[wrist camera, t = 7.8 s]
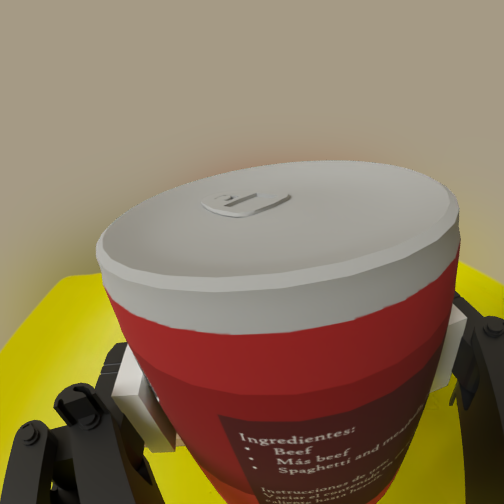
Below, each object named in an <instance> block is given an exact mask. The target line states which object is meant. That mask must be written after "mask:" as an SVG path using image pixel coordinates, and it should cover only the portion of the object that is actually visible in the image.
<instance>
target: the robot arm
mask: <svg viewBox="0 0 504 504" xmlns="http://www.w3.org/2000/svg"><path fill="white" fill-rule="evenodd" d="M452 373H453V374H454V376H455V377H456V378H457V383H456V386H455V388H454V391H453V393H452V396H451V398H450V403H449V406H452V405H453V403H454V400H455V398H456V399H457V405H458V412H459V419H460V427H461V435H462V445H463V456H464V470H465V496H466V504H504V320H503V319H501V318H498V317H495V316H486V317H483V316H482V315H481V314H480V313H479V312H478V311H477V310H476V309H475V308H473V307H472V306H471V305H470V304H469V303H468V302H467V301H466V300H465V299H464V298H463V297H460V295H459V294H458V293H457V292H456V291H455V294H454V299H453V305H452V310H451V315H450V319H449V324H448V328H447V333H446V337H445V341H444V345H443V349H442V352H441V356H440V360H439V363H438V367H437V370H436V374H435V377H434V380H433V383H432V387H431V390H430V393H431V392H433V391H436V390H438V389H440V388H442V387H445V386H447V385H448V382H449V380H450V377H451V374H452ZM53 408H54V409H55V410H56V412H57V413H58V414H59V415H60V417H61V418H62V419H63V420H64V421H65V423H66V424H67V425H66V426H62V427H58V428H55V429H51V430H50V429H49V428H48V427H47V426H46V425H45V424H44V423H43V422H42V421H39V420H33V421H29V422H27V423H25V424H24V425H22V426H21V427H20V429H19V430H18V431H17V433H16V435H15V438H14V441H13V445H12V449H11V453H10V457H9V461H8V465H7V470H6V474H5V479H4V484H3V489H2V494H1V500H0V504H165V502H164V500H163V498H162V495H161V493H160V490H159V488H158V486H157V483H156V481H155V478H154V475H153V473H152V470H151V468H150V465H149V462H148V461H147V459H146V458H145V456H144V455H143V451H144V444H146V446H147V447H148V448H149V450H150V451H151V452H152V453H155V452H175V448H176V433H177V432H176V430H175V429H174V427H173V425H172V424H171V422H170V420H169V419H168V417H167V415H166V414H165V412H164V410H163V409H162V407H161V405H160V404H159V402H158V400H157V398H156V397H155V395H154V393H153V391H152V389H151V388H150V386H149V384H148V382H147V380H146V378H145V376H144V375H143V373H142V371H141V369H140V367H139V365H138V363H137V361H136V359H135V357H134V355H133V353H132V351H131V349H130V347H129V345H128V343H127V342H123V343H116V344H115V345H114V347H113V348H112V349H111V350H110V351H109V352H108V354H107V356H106V359H105V362H104V366H103V367H102V370H101V375H99V378H98V381H97V384H96V386H95V389H94V388H93V387H92V386H91V385H89V384H86V383H78V384H73V385H71V386H69V387H67V388H65V389H64V390H63V391H62V392H61V393H59V395H58V396H57V398H56V400H55V402H54V407H53ZM51 482H53V486H52V489H51Z"/></svg>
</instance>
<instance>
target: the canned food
mask: <svg viewBox="0 0 504 504" xmlns="http://www.w3.org/2000/svg"><path fill="white" fill-rule="evenodd" d="M458 224H459V205H458V202H457V199H456V196H455V195H454V194H453V193H452V192H451V191H450V190H449V189H448V188H447V187H446V186H445V185H443V184H441V183H439V182H438V181H436V180H434V179H432V178H431V177H428V176H427V175H424V174H421V173H419V172H416V171H413V170H410V169H406V168H402V167H398V166H393V165H387V164H380V163H373V162H360V161H335V160H334V161H333V160H328V161H305V162H291V163H281V164H273V165H265V166H259V167H253V168H247V169H242V170H237V171H232V172H228V173H223V174H219V175H215V176H212V177H207V178H204V179H200V180H197V181H194V182H190V183H188V184H184V185H181V186H179V187H176V188H173V189H170V190H168V191H165V192H163V193H160V194H158V195H156V196H154V197H152V198H149V199H147V200H145V201H143V202H141V203H140V204H138V205H136V206H135V207H133V208H131V209H130V210H128V211H126V212H125V213H124V214H122V215H121V216H120V217H118V218H117V219H116V220H115V221H114V222H113V223H112V224H111V225H110V226H109V227H108V228H107V229H106V230H105V231H104V232H103V233H102V235H101V237H100V238H99V240H98V242H97V244H96V258H97V261H98V263H99V266H100V268H101V271H102V280H103V285H104V288H105V290H106V293H107V295H108V298H109V300H110V303H111V305H112V307H113V310H114V312H115V314H116V317H117V319H118V322H119V324H120V327H121V330H122V332H123V335H124V337H125V339H126V341H127V343H128V345H129V347H130V349H131V351H132V353H133V355H134V357H135V359H136V361H137V363H138V365H139V367H140V369H141V371H142V373H143V375H144V376H145V378H146V380H147V382H148V384H149V386H150V388H151V389H152V391H153V393H154V395H155V397H156V398H157V400H158V402H159V404H160V405H161V407H162V409H163V410H164V412H165V414H166V415H167V417H168V419H169V420H170V422H171V424H172V425H173V427H174V429H175V430H176V432H177V433H178V435H179V437H180V438H181V440H182V441H183V443H184V444H185V446H186V447H187V449H188V450H189V452H190V453H191V455H192V456H193V458H194V459H195V461H196V462H197V464H198V465H199V467H200V468H201V470H202V471H203V472H204V474H205V475H206V477H207V478H208V479H209V481H210V482H211V483H212V485H213V486H214V487H215V489H216V490H217V492H218V493H219V494H220V495H221V497H222V498H223V499H224V500H225V501H226V502H227V503H228V504H376V503H377V502H378V501H379V500H380V499H381V498H382V497H383V496H384V495H385V493H386V492H387V490H388V488H389V487H390V485H391V483H392V482H393V480H394V478H395V476H396V474H397V472H398V470H399V468H400V466H401V464H402V461H403V459H404V457H405V455H406V453H407V450H408V448H409V446H410V443H411V441H412V438H413V436H414V434H415V431H416V429H417V426H418V423H419V421H420V418H421V415H422V413H423V410H424V407H425V404H426V402H427V399H428V396H429V393H430V390H431V387H432V383H433V380H434V377H435V374H436V370H437V367H438V363H439V360H440V356H441V352H442V349H443V345H444V341H445V337H446V333H447V328H448V324H449V319H450V315H451V310H452V305H453V299H454V294H455V283H456V274H457V267H458V259H459V251H460V241H461V238H460V232H459V227H458Z"/></svg>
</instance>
